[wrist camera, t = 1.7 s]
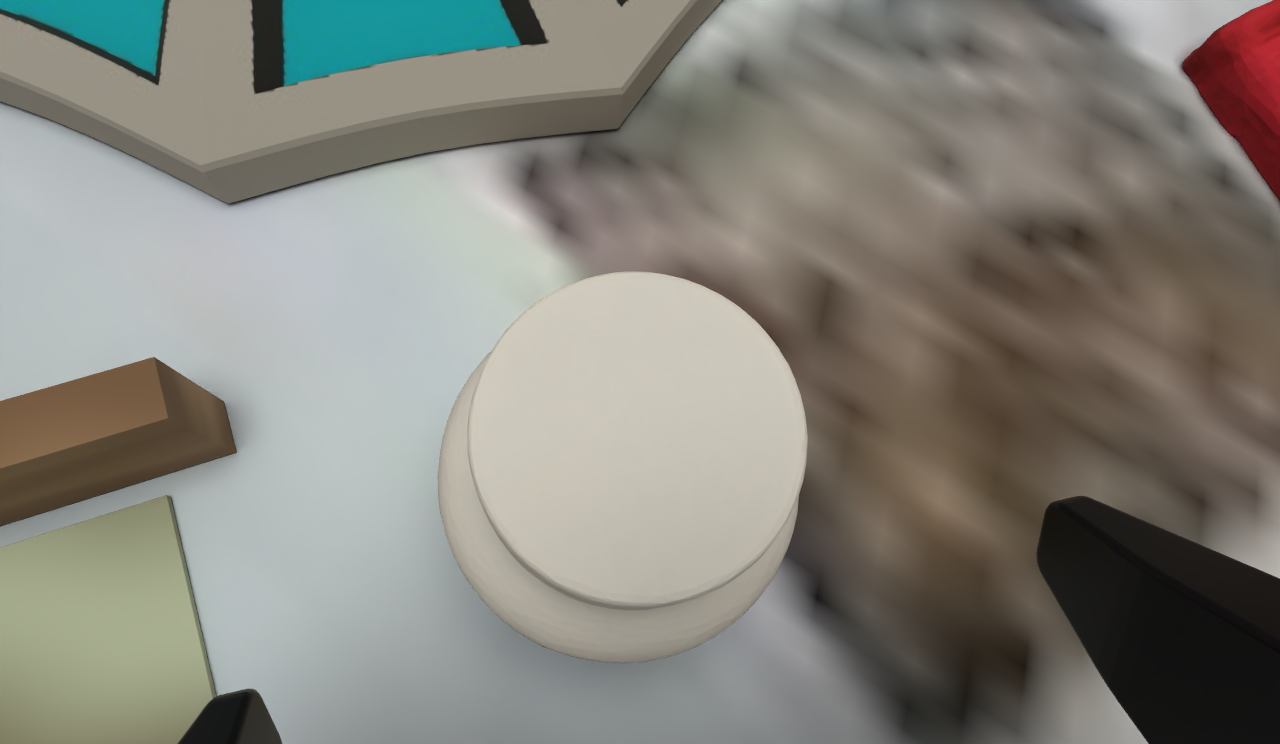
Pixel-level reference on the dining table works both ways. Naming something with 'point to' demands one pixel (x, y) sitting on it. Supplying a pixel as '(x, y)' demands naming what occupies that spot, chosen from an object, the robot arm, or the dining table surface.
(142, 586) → the wooden corner bracket
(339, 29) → the decorative platform
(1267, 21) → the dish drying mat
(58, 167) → the dining table surface
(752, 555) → the supplement bottle
